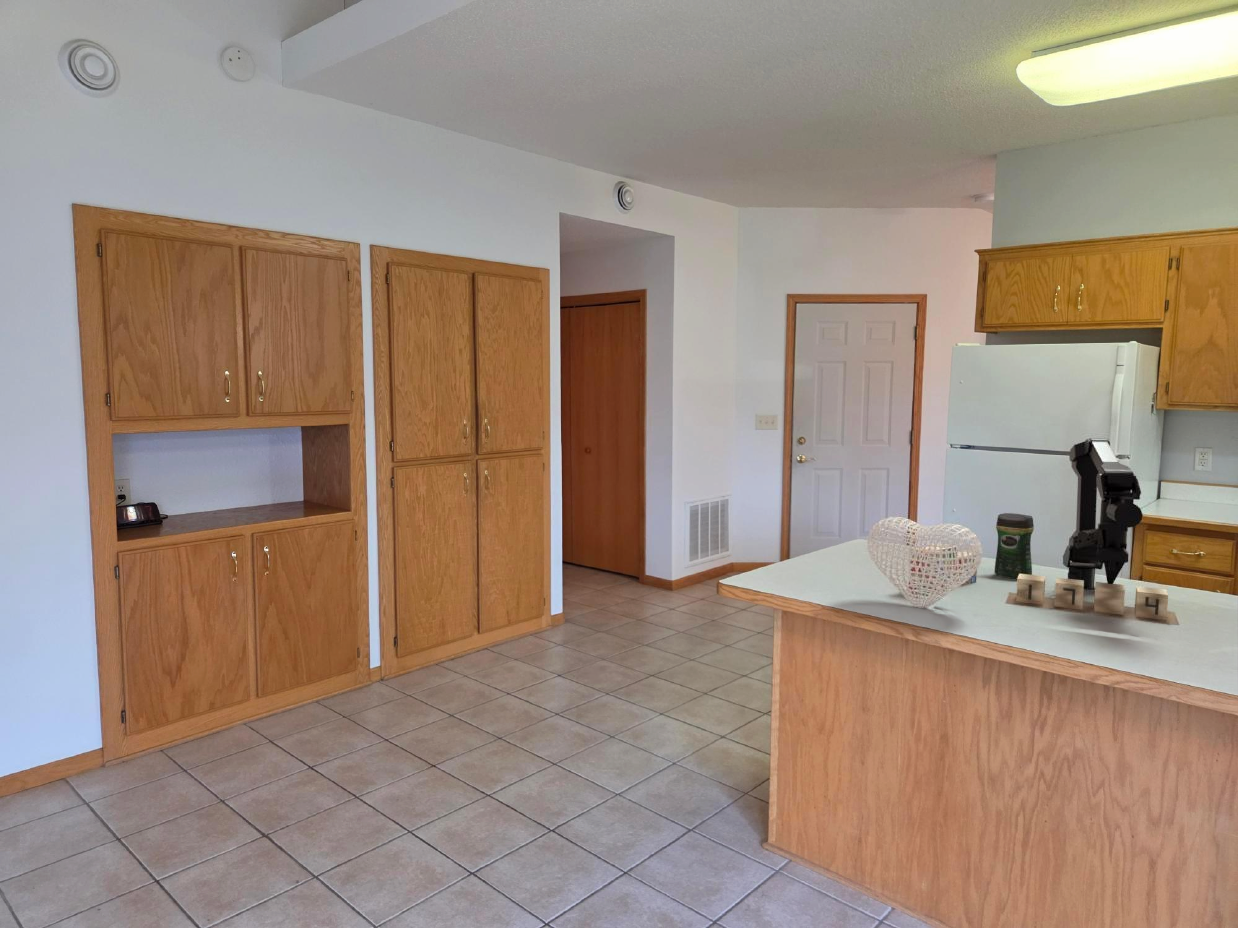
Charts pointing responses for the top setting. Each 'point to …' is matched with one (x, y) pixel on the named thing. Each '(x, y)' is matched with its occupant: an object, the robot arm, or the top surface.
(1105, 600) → the plain block
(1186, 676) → the top surface
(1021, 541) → the coffee jar
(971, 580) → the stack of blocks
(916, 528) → the heart
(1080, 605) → the block seven
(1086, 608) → the walnut mat
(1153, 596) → the block four
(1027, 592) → the block one
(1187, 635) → the top surface
